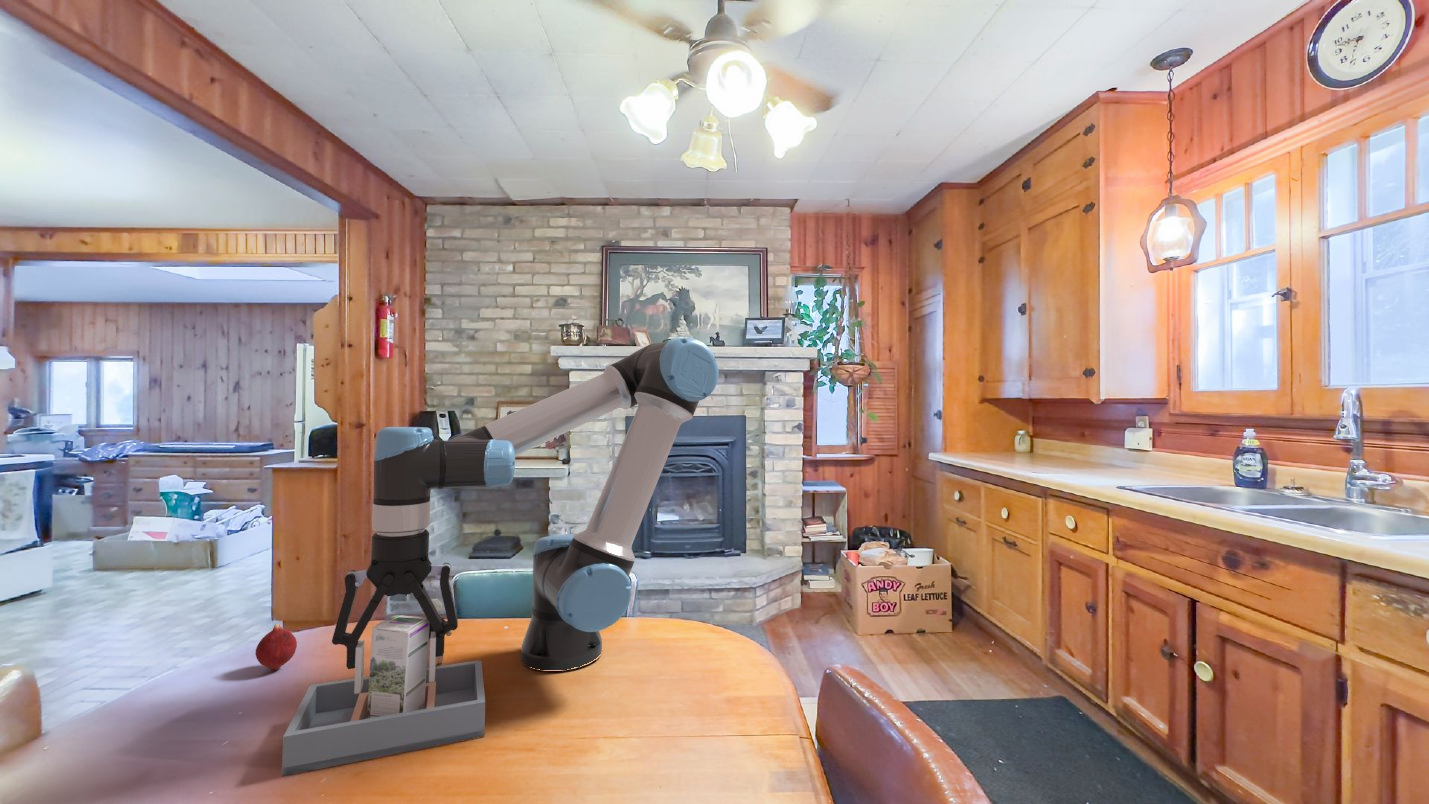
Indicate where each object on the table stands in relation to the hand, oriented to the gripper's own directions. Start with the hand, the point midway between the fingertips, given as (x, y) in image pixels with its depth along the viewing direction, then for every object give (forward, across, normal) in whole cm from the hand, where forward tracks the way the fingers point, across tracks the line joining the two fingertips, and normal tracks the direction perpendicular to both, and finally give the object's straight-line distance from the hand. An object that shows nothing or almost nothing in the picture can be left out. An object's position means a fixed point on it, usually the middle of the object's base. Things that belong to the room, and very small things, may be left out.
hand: (396, 683), depth 85 cm
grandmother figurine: (+7, -4, -18) cm, 20 cm away
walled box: (+6, 0, 0) cm, 6 cm away
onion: (+7, +21, -28) cm, 36 cm away
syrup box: (+6, 0, 0) cm, 6 cm away
